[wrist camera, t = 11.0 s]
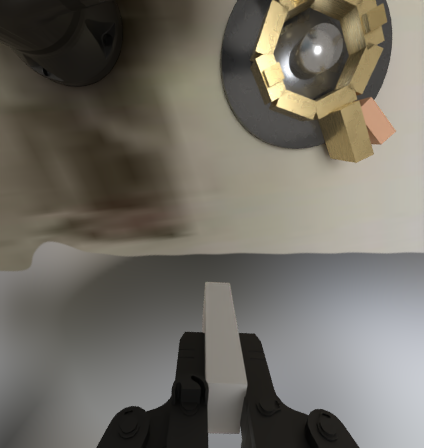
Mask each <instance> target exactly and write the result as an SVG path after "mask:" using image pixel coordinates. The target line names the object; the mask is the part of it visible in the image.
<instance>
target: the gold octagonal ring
mask: <svg viewBox="0 0 424 448" xmlns="http://www.w3.org/2000/svg"><path fill="white" fill-rule="evenodd" d="M308 8H312V9H314V10H316V11H318V12H321V13H323V14H325V15H327V16H330V17H332V18H334V19H336V20H339V21H340V25H341V28H342V32H343V36H344V40H345V43H346V47H347V51H348V54H349V57H348V59H347V61H346V64H345V66H344V68H343V71H342V73H341V75H340V77H339V80H338V82H337V84H336V87H335V89H334V90H333V91H331V92H329V93H327V94H325V95H323V96H321V97H320V98H318V99H316V100H312V99H309V98H306V97H304V96H301V95H299V94H296V93H294V92H291V91H288V90H286V88H285V85H284V82H283V79H284V78H285V77H284V75H283V72H282V69H281V66H280V63H279V62H277V63H276V60H275V57H274V54H273V53H274V50H275V47H276V44H277V41H278V38H279V35H280V32H281V30H282V27H283V24H284V22H286V21H288V20H289V19H291V18H293V17H294V16H296V15H298V14H300V13H301V12H303V11H305V10H306V9H308ZM386 22H387V18H386V13H385V8H384V4H383V3H382V4H381V5H379V6H377V4H376V0H272V1H271V3H270V5H269V7H268V9H267V11H266V13H265V15H264V18H263V21H262V24H261V27H260V31H259V34H258V37H257V40H256V43H255V46H254V49H253V52H252V55H251V58H250V61H253V64H252V65H251V67H250V68H251V71H252V74H253V76H254V79H255V81H256V84H257V86H258V89H259V91H260V94H261V96H262V99H263V102H264V104H265V105H266V104H268V103H270V102H271V105H270V107H269V109H270V110H272V111H275V112H278V113H280V114H283V115H286V116H289V117H291V118H294V119H297V120H299V121H310V120H317V119H318V122H319V125H320V128H321V131H322V134H323V137H324V140H325V143H326V146H327V149H328V152H329V155H330V158H332V159H338V160H343V161H349V162H355V163H357V162H359V161H361V160H363V159H365V158H367V157H369V156H371V155H373V154H374V153H373V149H372V145H371V142H370V138H369V134H368V131H367V127H366V123H365V120H364V116H363V112H362V109H361V105H360V101H355V100H357V97H356V96H357V95H361V94H363V91H364V89H365V87H366V85H367V83H368V81H369V79H370V76H371V74H372V72H373V70H374V68H375V66H376V64H377V62H378V59H379V57H380V55H381V53H382V51H383V49H384V48H382V47H379V46H377V44H379V43H381V42H383V41H385V40H384V35H383V31H382V25H383V24H385V23H386ZM353 101H355V102H353Z"/></svg>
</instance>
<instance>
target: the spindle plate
mask: <svg viewBox="0 0 424 448" xmlns="http://www.w3.org/2000/svg"><path fill="white" fill-rule="evenodd" d="M271 1H272V0H237V2H236V4H235V6H234V8H233V10H232V13H231V15H230V17H229V20H228V23H227V27H226V30H225V34H224V39H223V45H222V51H221V77H222V83H223V88H224V92H225V95H226V98H227V101H228V103H229V105H230V108H231V110H232V111H233V113H234V115H235V116H236V118H237V119H238V120H239V122H240V123H241V124H242V125H243V126H244V127H245V128H246V129H247V130H248V131H249V132H250V133H251V134H253V135H254V136H255V137H257V138H258V139H260V140H262V141H264V142H266V143H269V144H272V145H274V146H279V147H284V148H296V149H298V148H309V147H313V146H318V145H321V144H323V143H325V140H324V137H323V134H322V131H321V128H320V125H319V122H318V119H317V120H310V121H299V120H297V119H294V118H291V117H289V116H286V115H283V114H280V113H278V112H275V111H272V110H270V109H269V107H270V105H271V102H270V103H268V104H266V105H265V104H264V102H263V99H262V96H261V94H260V91H259V89H258V86H257V84H256V81H255V79H254V76H253V74H252V71H251V68H250V67H251V65H252V64H253V61H250V58H251V55H252V52H253V49H254V46H255V43H256V40H257V37H258V34H259V31H260V27H261V24H262V21H263V18H264V15H265V13H266V11H267V9H268V7H269V5H270V3H271ZM382 3H383V4H384V8H385V13H386V18H387V22H386V23H385V24H383V25H382V31H383V35H384V40H385V41H383V42H381V43H379V44H377V46H379V47H382V48H384V49H383V51H382V53H381V55H380V57H379V59H378V62H377V64H376V66H375V68H374V70H373V72H372V74H371V76H370V79H369V81H368V83H367V85H366V87H365V89H364V91H363V94H361V95H357V96H356V97H357V100H361V99H365V98H369V97H372V98H373V100H374V99H375V98H376V96H377V94H378V92H379V90H380V88H381V86H382V84H383V81H384V78H385V76H386V73H387V69H388V65H389V61H390V56H391V49H392V25H391V17H390V12H389V8H388V5H387V2H386V0H376V4H377V6H379V5H381V4H382ZM273 54H274V57H275V60H276V63H277V62H279V63H280V66H281V69H282V72H283V75H284V77H285V78H284V79H283V82H284V85H285V88H286V90H288V91H291V92H294V93H296V94H299V95H301V96H304V97H306V98H309V99H312V100H316V99H318V98H320V97H321V96H323V95H325V94H327V93H329V92H331V91H333V90H334V89H335V87H336V84H337V82H338V80H339V77H340V75H341V73H342V71H343V68H344V66H345V64H346V61H347V59H348V57H349V54H348V51H347V47H346V43H345V40H344V36H343V32H342V28H341V25H340V21H339V20H336V19H334V18H332V17H330V16H327V15H325V14H323V13H321V12H318V11H316V10H314V9H312V8H308V9H306V10H305V11H303V12H301V13H300V14H298V15H296V16H294V17H293V18H291V19H289V20H288V21H286V22H284V24H283V27H282V30H281V32H280V35H279V38H278V41H277V44H276V47H275V50H274V53H273ZM357 100H355V101H357Z"/></svg>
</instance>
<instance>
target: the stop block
mask: <svg viewBox="0 0 424 448" xmlns="http://www.w3.org/2000/svg"><path fill="white" fill-rule="evenodd" d="M357 101H360V105H361V109H362V112H363V116H364V120H365V123H366V127H367V131H368V134H369V138H370V142H371V144H382V143H383V142H385V141H386V140H387V139H388V138H389V137H390V136H391V135H392V134H394V133H395V132H396V130H395V129H394V128H393V126H392V125H391V123H390V122H389V121H388V119H387V118H386V116H385V115H384V114H383V112H382V111H381V109H380V108H379V107H378V105H377V104H376V102H375V101H374V100H373V98H372V97H369V98H365V99H361V100H357ZM353 102H355V101H353Z"/></svg>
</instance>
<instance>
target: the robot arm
mask: <svg viewBox="0 0 424 448" xmlns="http://www.w3.org/2000/svg"><path fill="white" fill-rule="evenodd" d="M122 35H123V31H122V20H121V15H120V11H119V8H118V5H117V2H116V0H0V42H1V43H3V44H5V45H8V46H10V47H11V48H12V49H13V51H14V52H15V53H16V54H17V55H18V56H19V57H20V58H21V59H22V60H23V61H24V62H25V63H26V64H27V65H28V66H29V67H31V68H32V69H33V70H34V71H36V72H37V73H39V74H40V75H42V76H44V77H46V78H48V79H50V80H53V81H55V82H58V83H61V84H64V85H69V86H85V85H90V84H92V83H95V82H97V81H99V80H100V79H102V78H103V77H104V76H106V75H107V74H108V73H109V72H110V70H111V69H112V68H113V66H114V65H115V63H116V61H117V59H118V56H119V53H120V50H121V45H122ZM203 308H204V309H203V332H185V333H184V334H183V336H182V337H181V339H180V343H179V352H178V360H177V369H176V378H175V381H174V383H173V386H172V396H171V398H170V399H169V400H168V401H167V402H166V403H165V404H164V405H162V406H160V407H158V408H156V409H153V410H150V411H147V412H146V411H145V410H144V409H142V408H140V407H136V406H131V407H128V408H125V409H123V410H121V411H120V412H119V413H117V414H116V415H115V417H114V418H113V419H112V421H111V423H110V424H109V426H108V428H107V429H106V431H105V433H104V435H103V437H102V439H101V441H100V442H99V444H98V446H97V448H208V433H224V434H229V433H230V434H239V432H240V426H241V433H242V443H241V448H359V446H358V445H357V444H356V442H355V441H354V439H353V438H352V437H351V435H350V433H349V432H348V431H347V430H346V428H345V426H344V425H343V424H342V423H341V421H340V420H339V419H338V418H337V417H336V416H335V415H333V414H332V413H330V412H328V411H325V410H323V409H315V410H313V411H312V412H310V414H309V415H306V414H304V413H301V412H298V411H295V410H293V409H291V408H289V407H287V406H286V405H285V404H283V403H282V402H281V400H280V399H279V398H278V396H277V395H276V393H275V390H274V387H273V384H272V380H271V376H270V373H269V369H268V365H267V362H266V358H265V355H264V351H263V348H262V344H261V341H260V340H259V339H258V337H257V336H256V335H255V334H247V333H238V327H237V321H236V316H235V311H234V305H233V299H232V293H231V288H230V283H216V282H205V294H204V307H203Z"/></svg>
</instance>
